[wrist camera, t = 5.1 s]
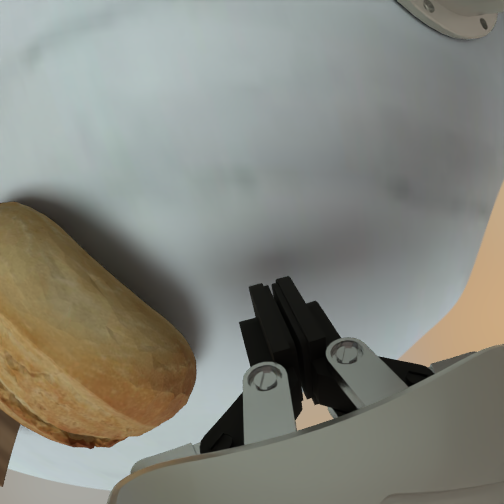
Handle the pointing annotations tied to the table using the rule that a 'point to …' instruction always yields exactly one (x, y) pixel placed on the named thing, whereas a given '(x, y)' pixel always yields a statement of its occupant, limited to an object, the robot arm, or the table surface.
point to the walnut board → (6, 441)
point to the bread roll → (80, 341)
